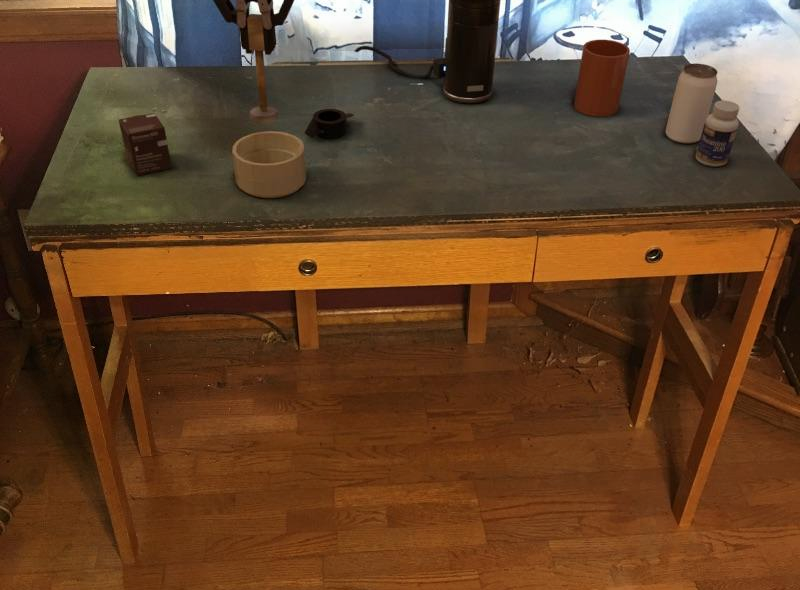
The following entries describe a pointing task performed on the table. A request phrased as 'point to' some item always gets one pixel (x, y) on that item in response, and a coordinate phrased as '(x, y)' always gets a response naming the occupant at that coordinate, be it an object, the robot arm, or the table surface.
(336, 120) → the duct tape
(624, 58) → the crock
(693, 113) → the can
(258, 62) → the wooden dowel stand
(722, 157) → the pill bottle
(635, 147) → the table surface
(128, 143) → the box
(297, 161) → the bowl
